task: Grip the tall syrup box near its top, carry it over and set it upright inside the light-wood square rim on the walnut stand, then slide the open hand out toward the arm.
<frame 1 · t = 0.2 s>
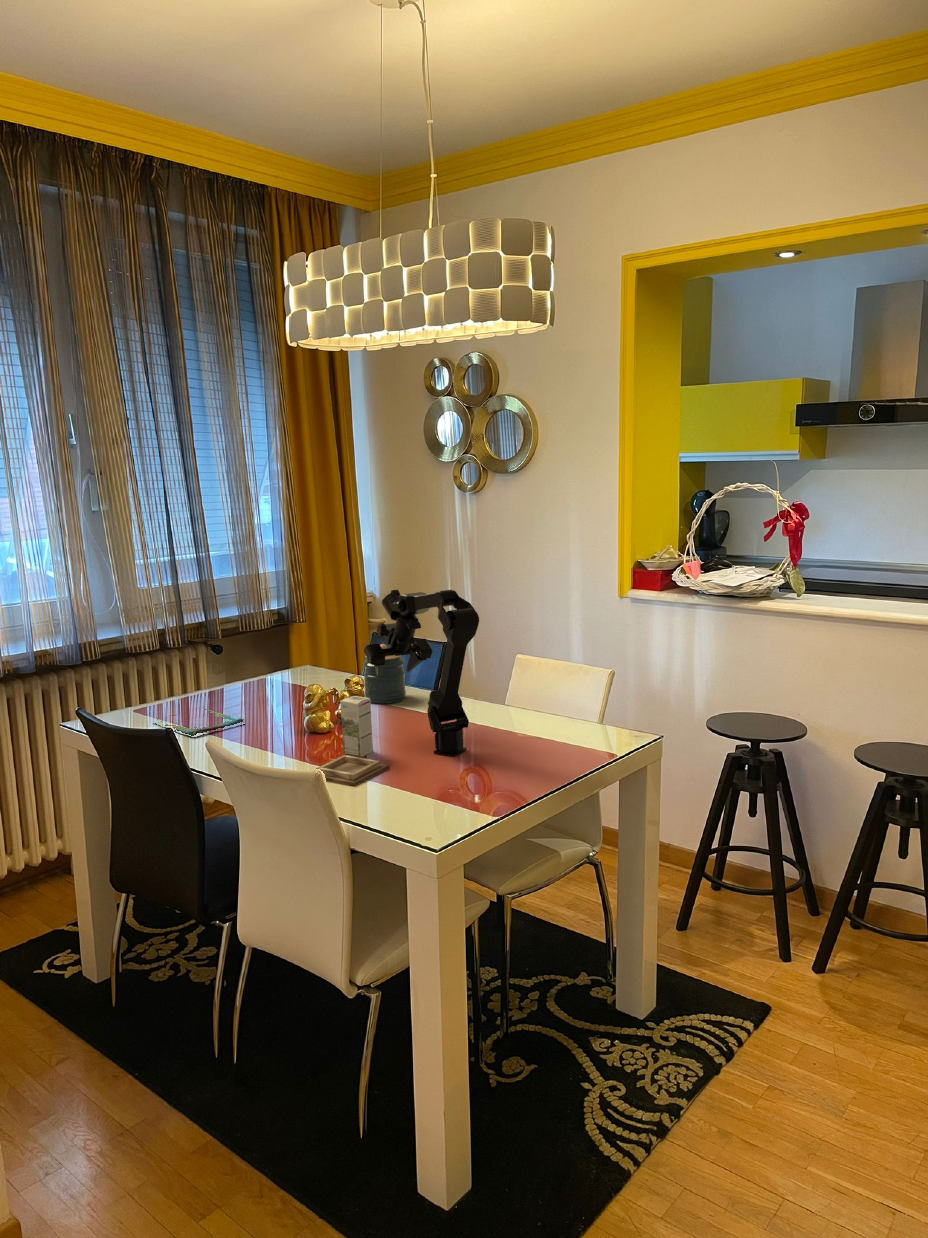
hand: (392, 673, 258), 15 cm above the table, tool tilted 30°, fingers open, 9 cm apart
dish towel: (198, 726, 267), on the table
canister: (385, 699, 288), on the table
socket stand: (348, 772, 222), on the table
syrup box: (358, 753, 236), on the table
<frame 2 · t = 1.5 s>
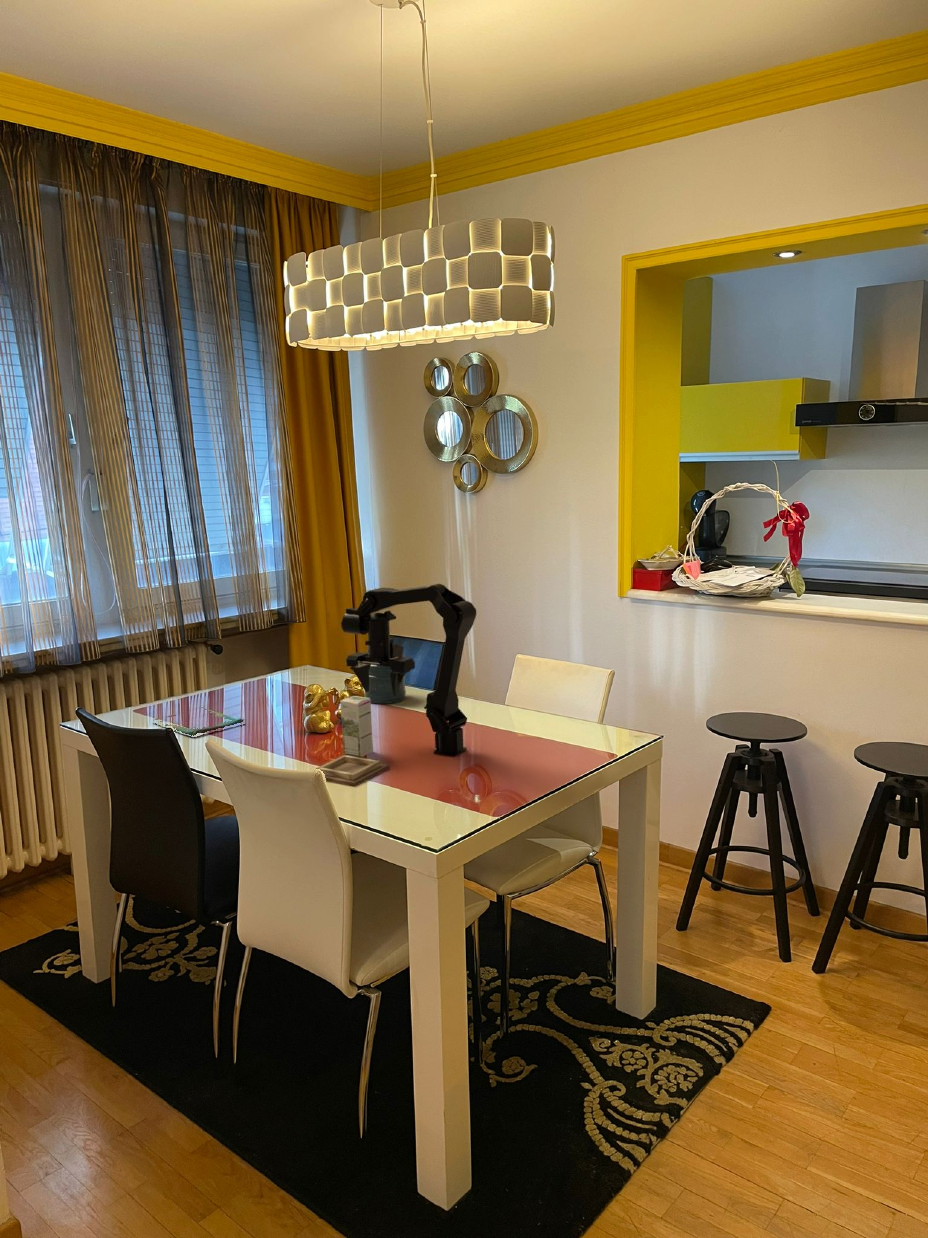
hand: (381, 693, 243), 13 cm above the table, tool pointing down, fingers open, 9 cm apart
nothing on the table moved.
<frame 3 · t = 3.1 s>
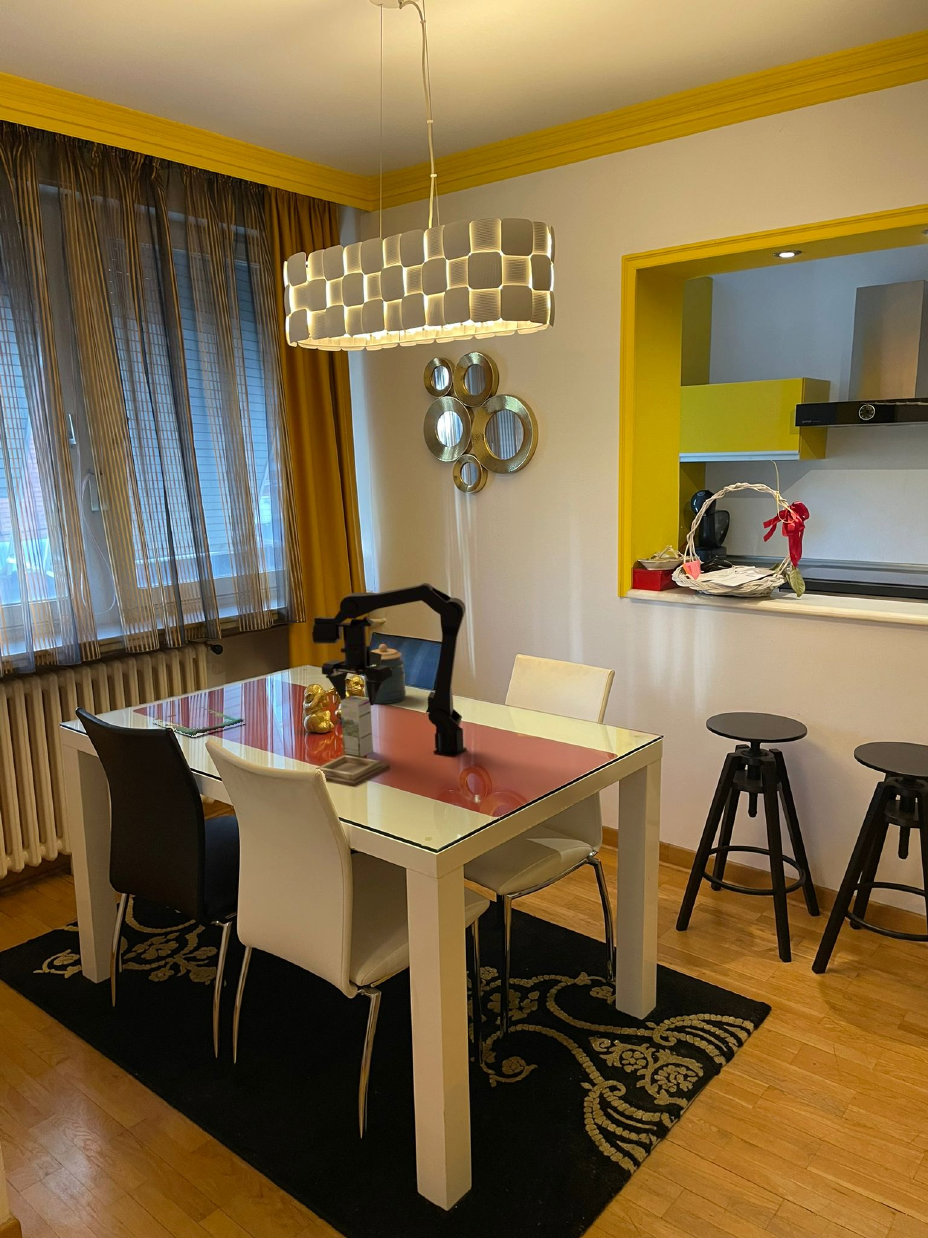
hand: (358, 703, 235), 13 cm above the table, tool pointing down, fingers open, 9 cm apart
nothing on the table moved.
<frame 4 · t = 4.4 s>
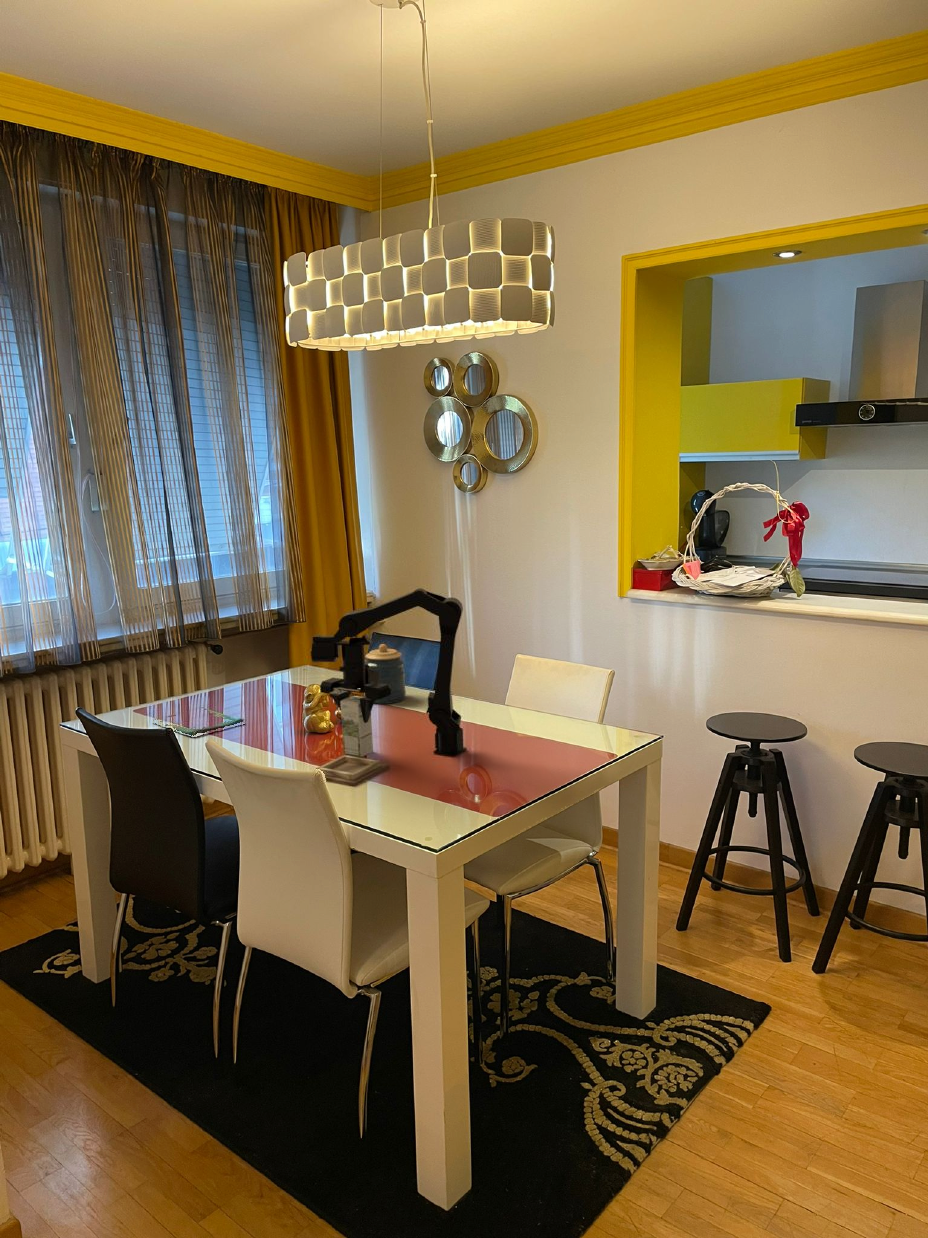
hand: (356, 721, 235), 9 cm above the table, tool pointing down, fingers closed on syrup box, 6 cm apart
syrup box: (358, 753, 236), on the table, touching gripper
everything else where it was.
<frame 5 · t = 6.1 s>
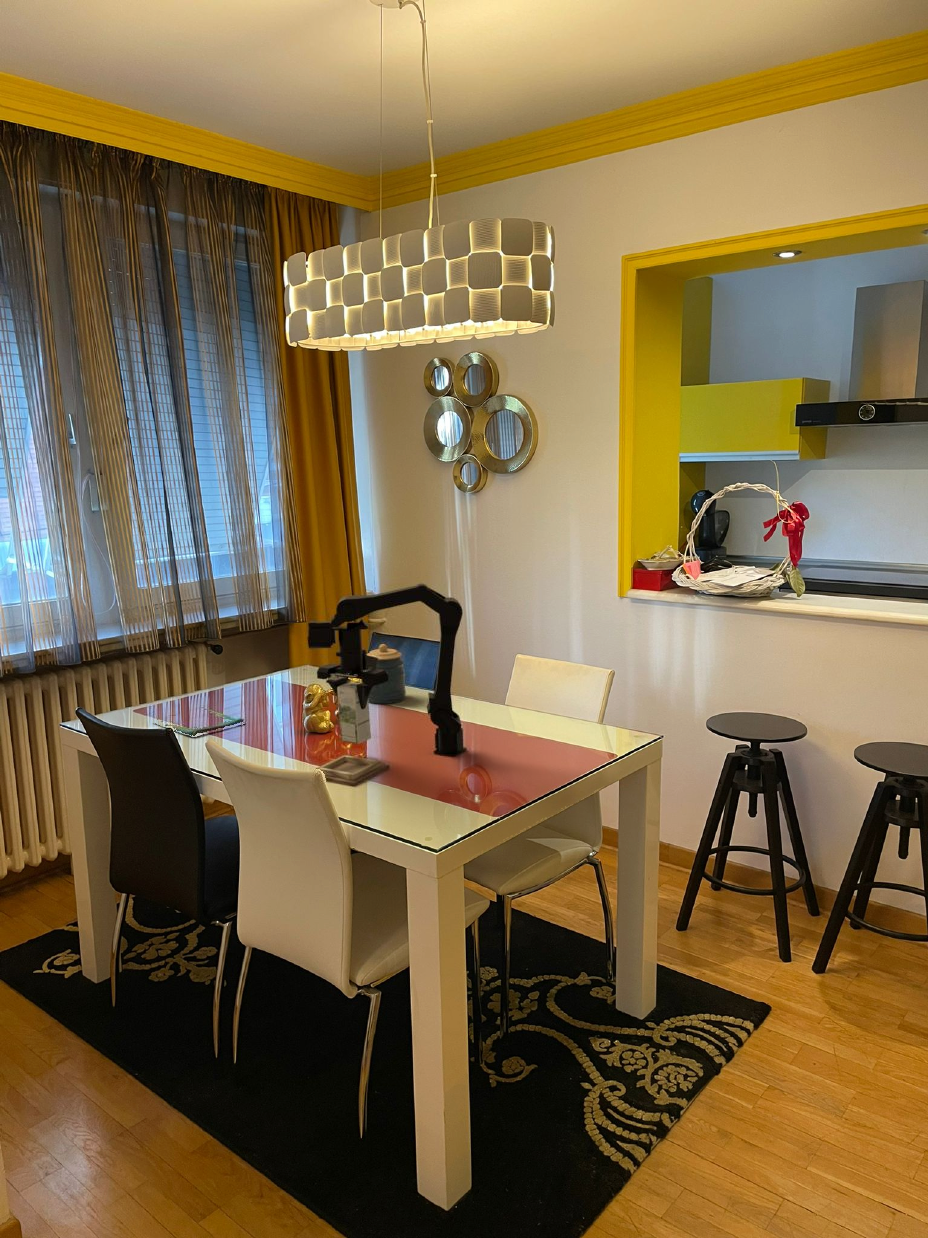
hand: (353, 707, 231), 13 cm above the table, tool pointing down, fingers closed on syrup box, 6 cm apart
syrup box: (355, 741, 232), point 4 cm above the table, touching gripper
everything else where it was.
when the fingers open (10 cm above the table, at t = 7.9 s): syrup box drops 1 cm, resting on socket stand.
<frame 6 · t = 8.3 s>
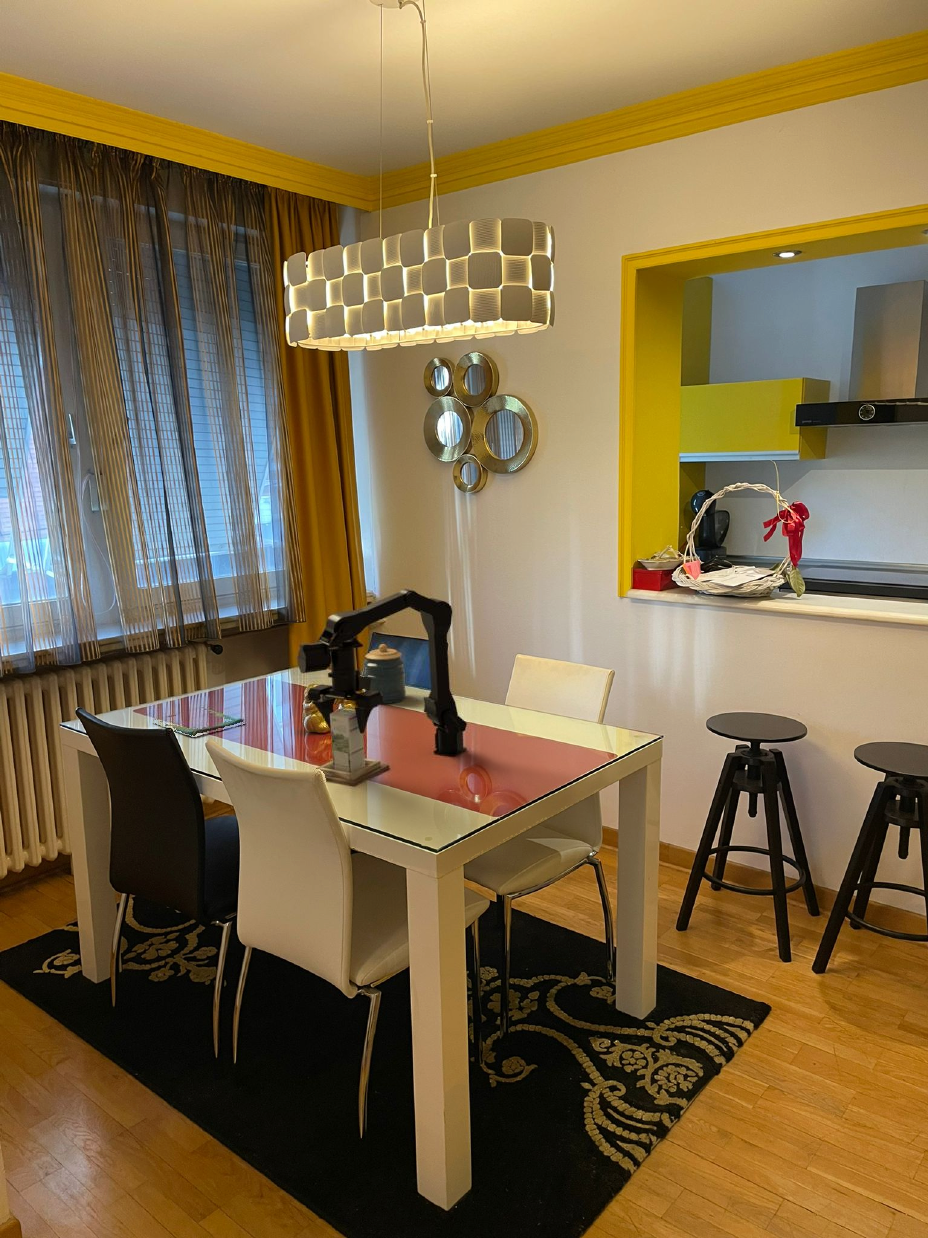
hand: (346, 730, 220), 10 cm above the table, tool pointing down, fingers open, 9 cm apart
syrup box: (349, 770, 221), point 1 cm above the table, touching socket stand
everything else where it was.
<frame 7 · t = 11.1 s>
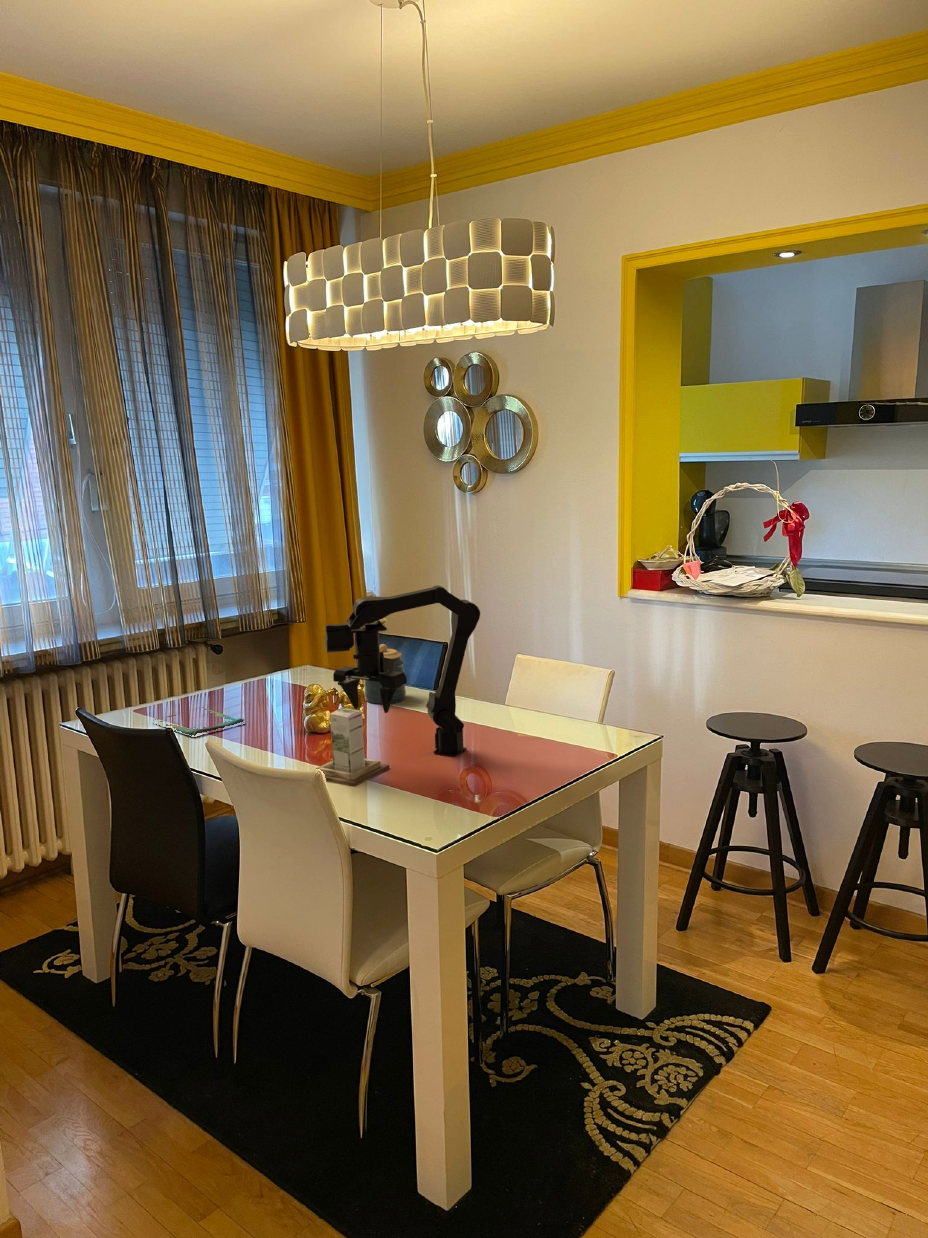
hand: (371, 710, 228), 13 cm above the table, tool pointing down, fingers open, 9 cm apart
nothing on the table moved.
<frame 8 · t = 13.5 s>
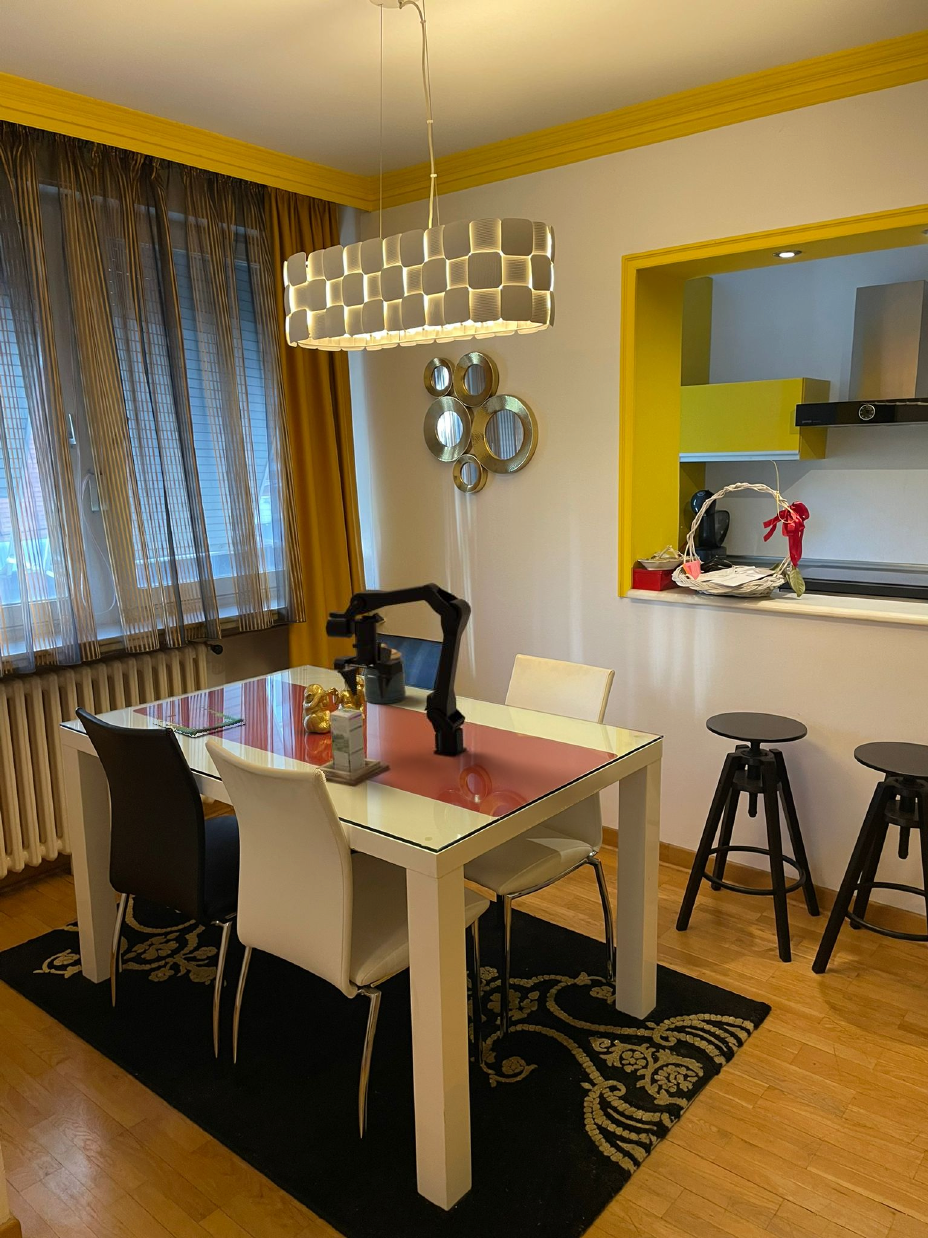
hand: (369, 697, 240), 13 cm above the table, tool pointing down, fingers open, 9 cm apart
nothing on the table moved.
at the end: syrup box 0.1 cm off-centre on the socket stand, point 0.6 cm above the socket stand's base; syrup box tilted 0°; the gripper is holding nothing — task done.
